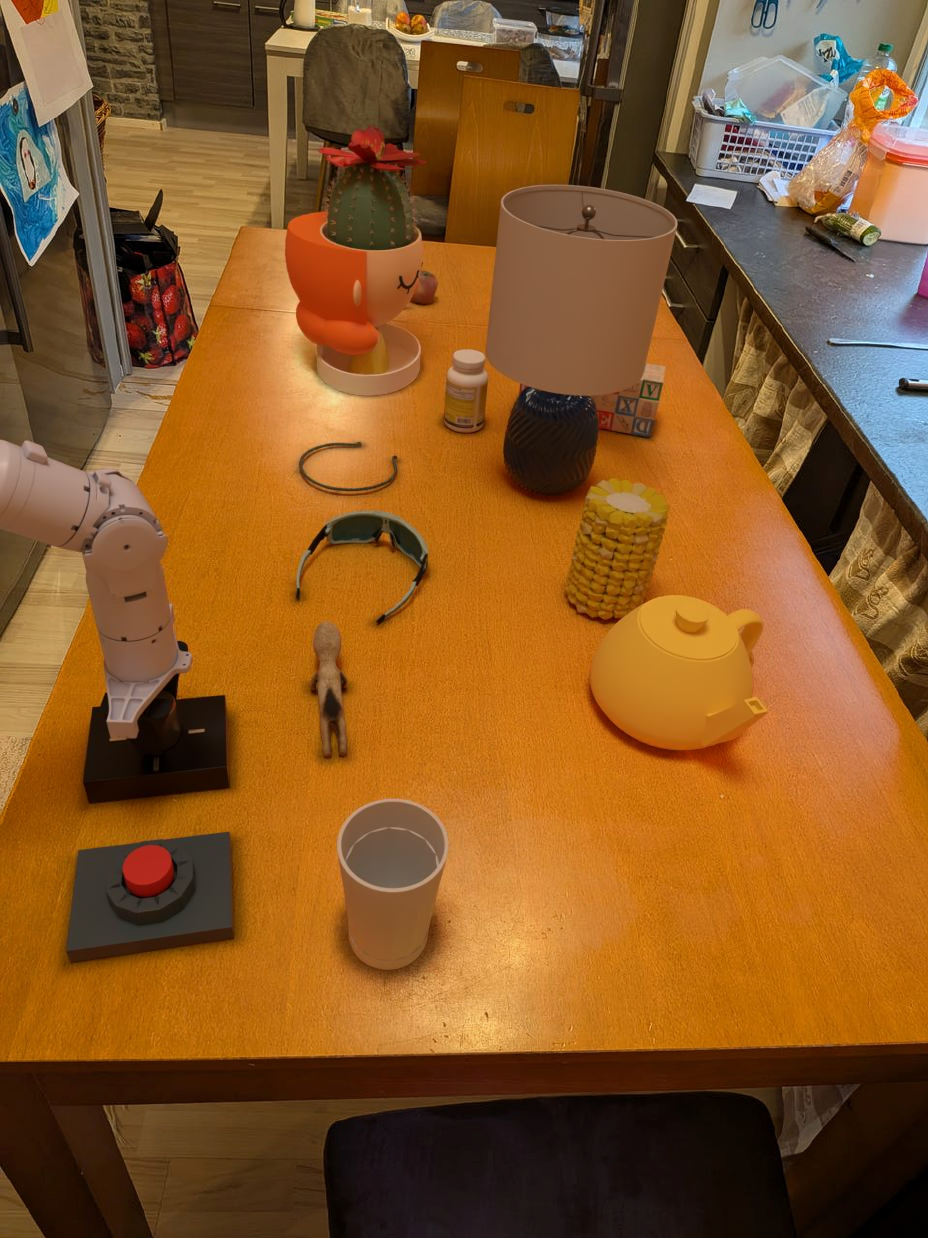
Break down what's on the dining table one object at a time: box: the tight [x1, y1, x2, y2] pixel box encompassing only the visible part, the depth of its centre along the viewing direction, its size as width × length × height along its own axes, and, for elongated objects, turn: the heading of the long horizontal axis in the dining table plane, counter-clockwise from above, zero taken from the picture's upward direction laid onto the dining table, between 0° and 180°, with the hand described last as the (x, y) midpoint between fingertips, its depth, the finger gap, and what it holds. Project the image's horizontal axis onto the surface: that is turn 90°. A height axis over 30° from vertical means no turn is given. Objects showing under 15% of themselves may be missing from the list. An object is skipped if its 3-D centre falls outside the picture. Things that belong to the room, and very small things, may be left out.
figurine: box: [309, 621, 348, 758], centre depth 89 cm, size 4×4×15 cm
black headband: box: [298, 441, 398, 492], centre depth 124 cm, size 14×13×1 cm
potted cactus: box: [284, 125, 427, 397], centre depth 138 cm, size 22×22×35 cm
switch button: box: [123, 845, 174, 897], centre depth 70 cm, size 4×4×2 cm
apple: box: [410, 270, 439, 305], centre depth 171 cm, size 6×8×6 cm
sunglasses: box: [295, 509, 429, 625], centre depth 105 cm, size 14×15×5 cm
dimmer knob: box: [155, 690, 181, 750], centre depth 80 cm, size 4×4×4 cm
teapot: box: [588, 594, 769, 751], centre depth 90 cm, size 20×19×13 cm
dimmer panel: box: [82, 694, 231, 805], centre depth 82 cm, size 12×9×3 cm
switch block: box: [65, 831, 235, 963], centre depth 71 cm, size 12×9×4 cm
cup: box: [336, 797, 450, 971], centre depth 68 cm, size 8×8×12 cm
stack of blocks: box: [518, 363, 666, 438], centre depth 138 cm, size 21×6×12 cm, turn 76°
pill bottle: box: [443, 348, 489, 434], centre depth 133 cm, size 6×6×11 cm
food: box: [564, 477, 670, 621], centre depth 103 cm, size 15×12×10 cm
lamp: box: [485, 184, 678, 497], centre depth 114 cm, size 20×20×37 cm
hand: (157, 732), depth 81 cm, fingers closed on dimmer knob, 4 cm apart
